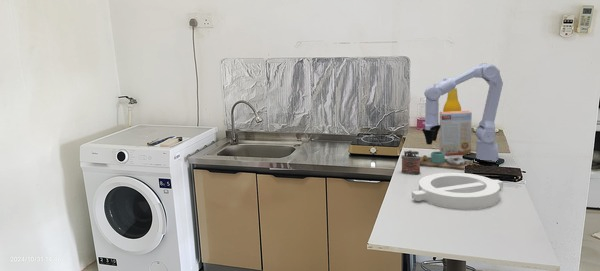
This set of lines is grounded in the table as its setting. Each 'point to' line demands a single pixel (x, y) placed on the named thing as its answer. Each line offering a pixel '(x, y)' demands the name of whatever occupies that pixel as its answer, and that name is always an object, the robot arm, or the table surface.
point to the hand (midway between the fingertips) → (431, 142)
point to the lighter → (410, 163)
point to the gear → (437, 157)
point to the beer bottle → (452, 102)
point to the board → (449, 163)
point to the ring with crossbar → (458, 190)
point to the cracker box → (455, 132)
